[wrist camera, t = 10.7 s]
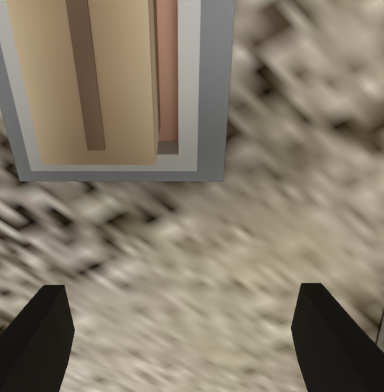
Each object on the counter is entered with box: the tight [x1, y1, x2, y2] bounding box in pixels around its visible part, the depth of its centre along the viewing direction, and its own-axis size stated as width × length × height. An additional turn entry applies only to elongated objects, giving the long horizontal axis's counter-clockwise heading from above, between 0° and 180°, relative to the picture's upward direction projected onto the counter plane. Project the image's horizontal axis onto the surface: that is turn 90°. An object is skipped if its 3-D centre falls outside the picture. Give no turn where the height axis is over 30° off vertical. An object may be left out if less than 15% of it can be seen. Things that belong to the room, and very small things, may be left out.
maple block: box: [6, 0, 161, 165], centre depth 13 cm, size 4×8×4 cm, turn 179°
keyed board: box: [0, 0, 235, 181], centre depth 14 cm, size 14×10×2 cm
